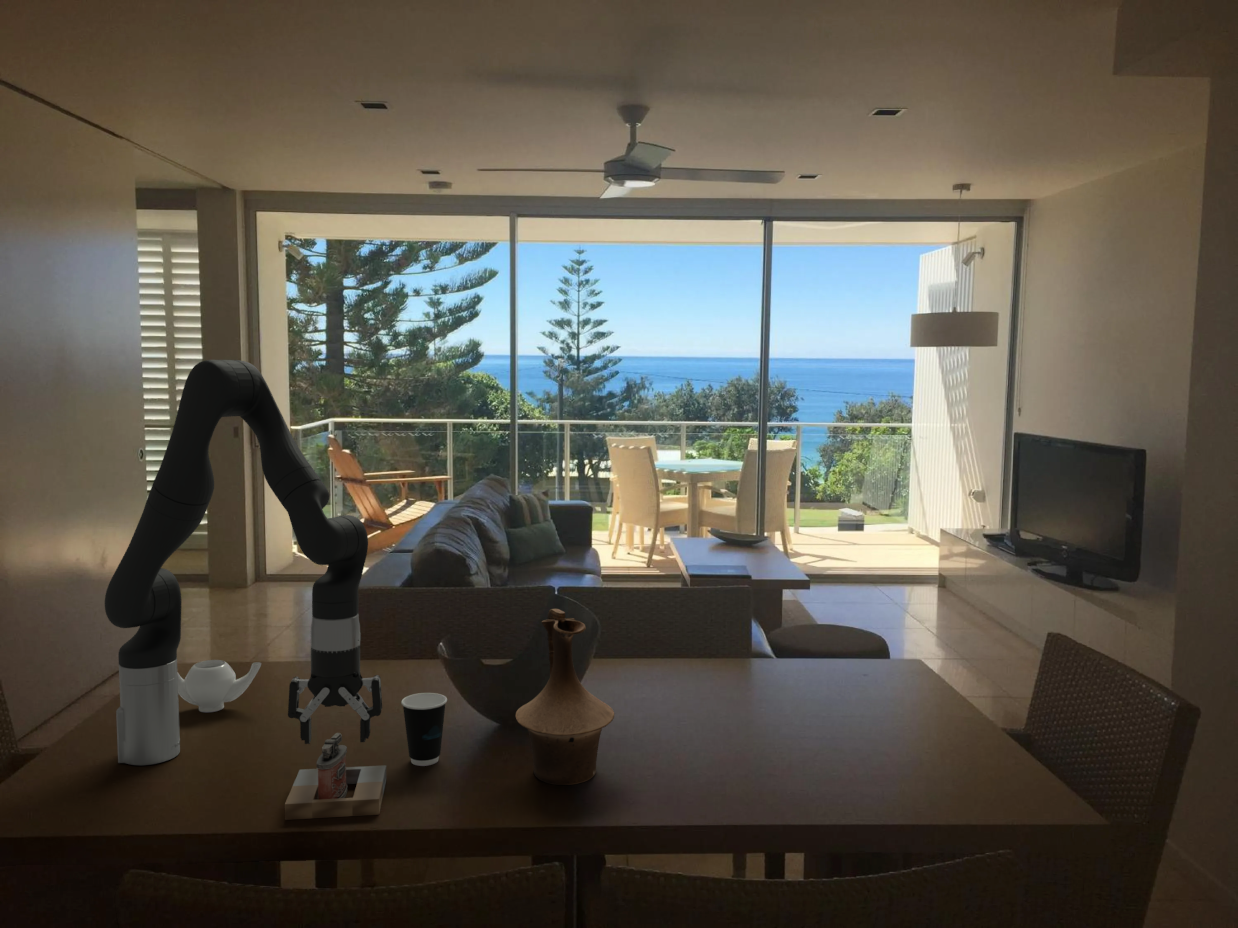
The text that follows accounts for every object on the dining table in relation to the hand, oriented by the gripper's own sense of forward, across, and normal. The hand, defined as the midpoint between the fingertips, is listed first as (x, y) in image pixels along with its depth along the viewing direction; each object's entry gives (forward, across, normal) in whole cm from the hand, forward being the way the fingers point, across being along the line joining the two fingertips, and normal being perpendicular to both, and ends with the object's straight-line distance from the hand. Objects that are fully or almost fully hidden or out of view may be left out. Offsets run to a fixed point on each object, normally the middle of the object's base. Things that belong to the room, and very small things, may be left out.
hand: (335, 741), depth 155 cm
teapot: (+11, -31, +46) cm, 56 cm away
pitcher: (+9, +37, +6) cm, 39 cm away
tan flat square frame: (+10, 0, 0) cm, 10 cm away
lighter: (+10, 0, 0) cm, 10 cm away
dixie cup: (+10, +13, +14) cm, 21 cm away
